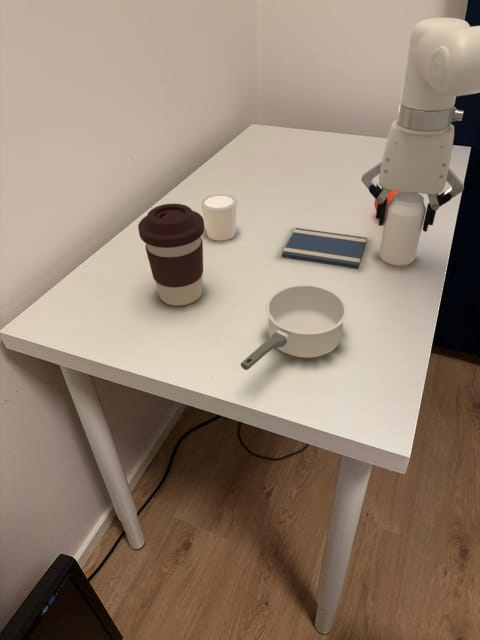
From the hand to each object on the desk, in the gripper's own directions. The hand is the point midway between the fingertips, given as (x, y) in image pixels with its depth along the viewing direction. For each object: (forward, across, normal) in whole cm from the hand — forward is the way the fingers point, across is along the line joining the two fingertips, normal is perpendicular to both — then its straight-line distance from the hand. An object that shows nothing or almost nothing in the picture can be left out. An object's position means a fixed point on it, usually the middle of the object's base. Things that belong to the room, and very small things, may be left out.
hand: (403, 224), depth 83 cm
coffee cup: (+7, +33, +21) cm, 40 cm away
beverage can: (+7, 0, 0) cm, 7 cm away
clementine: (+7, +3, -16) cm, 18 cm away
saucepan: (+7, +12, +30) cm, 33 cm away
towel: (+7, +13, 0) cm, 15 cm away
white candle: (+7, +34, 0) cm, 35 cm away
